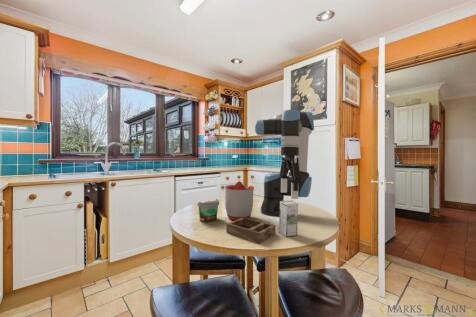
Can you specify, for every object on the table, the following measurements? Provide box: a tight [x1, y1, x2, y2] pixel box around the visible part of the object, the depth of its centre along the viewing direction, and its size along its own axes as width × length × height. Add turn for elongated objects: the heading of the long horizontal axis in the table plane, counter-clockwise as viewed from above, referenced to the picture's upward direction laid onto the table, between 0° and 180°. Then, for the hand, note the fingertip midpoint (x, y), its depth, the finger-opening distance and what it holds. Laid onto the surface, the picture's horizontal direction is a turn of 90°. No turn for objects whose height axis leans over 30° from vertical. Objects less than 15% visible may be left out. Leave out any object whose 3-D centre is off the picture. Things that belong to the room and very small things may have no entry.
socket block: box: [226, 217, 276, 245], centre depth 96 cm, size 12×18×4 cm
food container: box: [197, 198, 220, 223], centre depth 113 cm, size 12×6×10 cm, turn 131°
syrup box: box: [278, 199, 299, 238], centre depth 96 cm, size 6×6×14 cm
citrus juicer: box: [224, 180, 254, 221], centre depth 119 cm, size 16×17×20 cm
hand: (288, 195), depth 95 cm, fingers open, 13 cm apart
